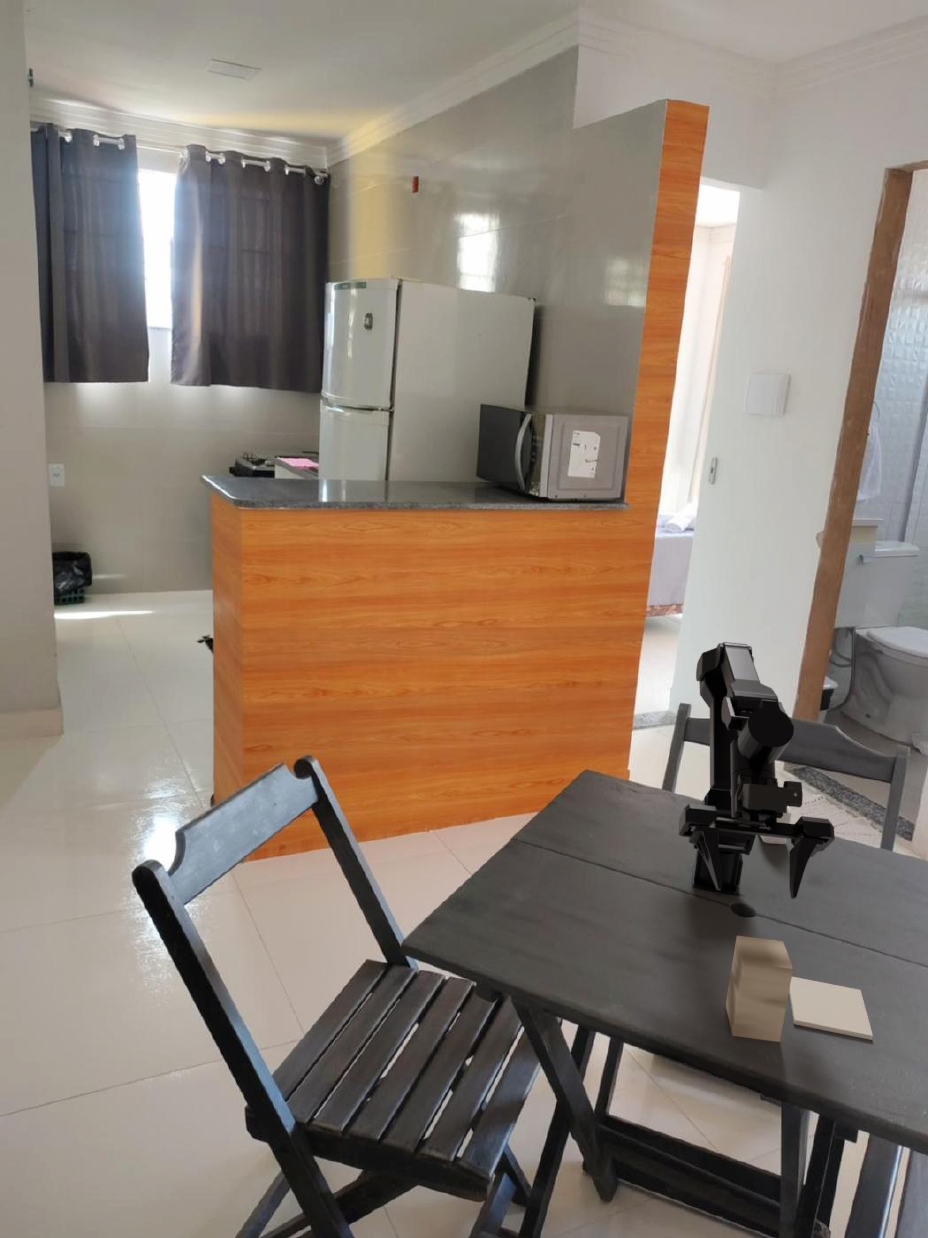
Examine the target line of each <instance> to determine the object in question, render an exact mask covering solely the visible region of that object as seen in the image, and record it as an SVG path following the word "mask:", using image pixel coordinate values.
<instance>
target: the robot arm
mask: <svg viewBox="0 0 928 1238" xmlns="http://www.w3.org/2000/svg"><path fill="white" fill-rule="evenodd" d="M754 659H755V657H754V656H753V647H752V645H748V644H746V643H738V642H728V641H727V642H726V641H723V642H721V643H718V644H717V646H716V647H715V648H711V649H709V650H707V651H704V652H702V653H701V655H700V656H699V659H698V661H697V663H696V670H695V681H697V682H698V683H699V684H698V685H699V696H700V697H701V698H702V700H703V702H705V704H706V705H707V707H708V708H709V790H708V792H707V793H706V794H705V795H704V798H703V799H702V802H701V804H695V803H688V804H687V805H686V806H685V807H684V808H683V810H682V812H681V814H680V816H679V820H678V836H681V837H684V838H688V843H690V844H692V849H695V850H696V851H695V852H696V853H695V860H694V863H693V865H692V886H693V887H694V888H696V889H703V890H710V891H715V892H721V893H725V894H730V895H736V894H737V886H740V883H741V877H742V873H743V872H742V871H743V866H744V859H743V855H746V856H750V853H751V852H752V850H753V847H754V843H755V839H756V836H760V835H761V836H770V837H779V838H787V840H788V839H790V843H791V845H793V847H792V848H791V849H790V850H789V857H788V858H789V862H788V863H789V894H790V899H791V900H795V899H796V898H797V897H798V894H799V890H800V886H801V883H802V881H803V876H804V873H805V869H806V866H807V864H808V862H809V860H810V858H812V857H814V856H815V855H817V853H819V852H820V853H821V852H823V851H825V850H826V849H827V848H828V847H829V846H830V845H831V844H832V843H833V842H834V841H835V839H836V838H835V826H834V825H833V823H832V822H831V821H830V819H829V818H823V817H813V816H806V815H805V816H804V815H801V816H800V817H799V818H798V819H797V821H796V822H795V823H790V824H789V823H780V822H777V818H782V816H783V813H787V806H788V807H791V808H801V807H802V806H803V798H804V796H803V794H804V793H803V783H802V782H801V781H794V780H785V781H783V784H782V786H783V787H778V785H779V782H778V778H777V777H776V761H777V760H779V758H780V757H781V755H782V753H784V751H785V749H786V748H787V746H788V745H789V743H790V742H791V740H792V739H793V737H794V731H795V727H794V726H795V725H794V724H793V722H792V719H791V718H790V716H789V715H788V714H787V712H786V710H785V708H784V706H783V703H782V702H781V701H779V697H778V695H777V694H776V692H775V691H774V689H772V687H769V686H767V685H765V684H764V683H763V684H762V682H761V680H760V677H759V675H758V672H757V669H756V666H755V660H754ZM739 732H740V733H739ZM761 836H760V837H761Z"/></svg>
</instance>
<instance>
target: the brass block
mask: <svg viewBox="0 0 928 1238" xmlns="http://www.w3.org/2000/svg"><path fill="white" fill-rule="evenodd" d="M732 957H733V958H732V963H731V970H730V975H729V981H728V988H727V993H726V1001H725V1010H726V1014H727V1017H728V1018H727V1019H728V1022H729V1027H730V1030H731V1034H732V1036H733V1037H741V1038H747V1039H755V1040H763V1041H769V1042H776V1043H777V1042H779V1043H780V1042H781V1038H782V1034H783V1033H782V1032H783V1027H784V1021H785V1016H786V1011H787V1004H788V999H789V989H790V983H791V978H792V977H793V973H794V971H793V970H794V968H793V965H792V962H791V959H790V956H789V954H788V951H787V948H786V945H785V944H784V941H782V940H778V939H777V940H775V939H766V938H760V937H759V938H758V937H751V936H743V935H736V939H735V945H734V952H733V956H732Z"/></svg>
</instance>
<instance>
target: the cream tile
mask: <svg viewBox="0 0 928 1238" xmlns="http://www.w3.org/2000/svg"><path fill="white" fill-rule="evenodd" d="M861 990H862V989H858V988H852V987H848V986H842V985H838V984H837V985H836V984H831V983H826V982H822V981H816V980H811V979H806V978H800V977H798V976H797V977H796V976H792V978H791V983H790V989H789V994H788V997H789V1001H790V1008H791V1009H790V1010H791V1015H792V1021H793V1025H797V1026H802V1027H805V1028H811V1029H816V1030H820V1031H821V1030H822V1031H827V1032H831V1033H836V1034H841V1035H846V1036H850V1037H856V1038H860V1039H861V1038H862V1039H866V1040H869V1041H870V1040H871V1041H872V1040H873V1037H874V1035H873V1032H872V1028H871V1024H870V1020H869V1017H868V1013H867V1009H866V1005H865V1002H864V998H863V995H862V991H861Z"/></svg>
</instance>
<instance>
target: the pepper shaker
mask: <svg viewBox="0 0 928 1238" xmlns="http://www.w3.org/2000/svg"><path fill="white" fill-rule="evenodd" d="M778 787H783V784H778ZM791 818H792V811H791V808H790V806H787V813H783V816H782V818H777V822H780V823H789V824H791V823H790V822H791ZM759 836H760V838H761V839H762V842H763V843H766V844H774V845H775V844H776V845H777V844H778V845H785V844H786V843H787V840H788V838H779V837H770V836H761V835H759Z"/></svg>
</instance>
